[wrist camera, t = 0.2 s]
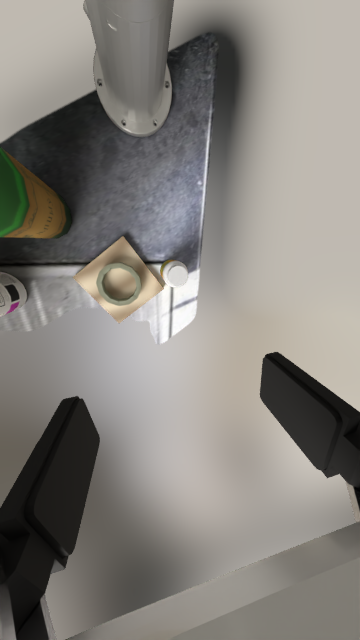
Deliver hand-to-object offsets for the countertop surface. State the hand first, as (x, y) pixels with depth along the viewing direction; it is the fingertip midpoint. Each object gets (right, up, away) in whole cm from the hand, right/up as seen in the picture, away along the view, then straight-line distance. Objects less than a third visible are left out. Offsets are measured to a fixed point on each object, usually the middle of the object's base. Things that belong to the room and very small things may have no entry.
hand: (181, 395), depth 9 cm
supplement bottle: (-2, +16, +33) cm, 37 cm away
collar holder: (-14, +13, +32) cm, 37 cm away
